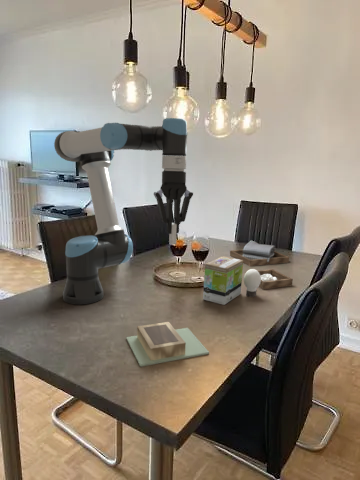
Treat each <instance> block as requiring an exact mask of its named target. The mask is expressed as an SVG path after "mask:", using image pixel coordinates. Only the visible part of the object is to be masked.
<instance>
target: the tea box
mask: <svg viewBox="0 0 360 480" xmlns="http://www.w3.org/2000/svg"><path fill="white" fill-rule="evenodd" d="M243 270H244V263H243V260H240V259H235V258H233V257H228V256H222V255H221V256H220V257H217V258H215V259H213V260H210V261H209V262H207V263H205V264H204V278H203V292H202V299H203V300H204V301H207V302H212V303H214V304H219V305H223V306H224V305H226V304H228V303H229V302H231V301H232V300H234V299H235V298H236V297H238V296H240V295H241V294H242V280H243Z"/></svg>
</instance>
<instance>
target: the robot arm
mask: <svg viewBox="0 0 360 480" xmlns="http://www.w3.org/2000/svg"><path fill="white" fill-rule="evenodd" d="M161 125H162V126H161ZM161 125H160V126H159V125H157V126H154V125H153V126H152V125H141V124H140V125H138V124H127V123H121V122H120V123H119V122H106V123H104V124H103V126H102V127H97V128H92V129H87V130H81V131H76V130H66V131H63V132H60V133H59V134H57V135H56V136H55V139H54V143H53V144H54V145H53V146H54V151H55V152H56V154H57V155H58V156H59V157H60V158H61V159H63V160H65V161H68V162H73V163H80V165H81V168H82V170H84V171H85V172H86V176H87V181H88V187H89V191H90V196H91V200H92V201H91V202H92V206H93V211H94V217H95V221H96V227H97V231H96V232H95V234H94V235H92V234H91V235H80V236H79V235H78V236H75V237H73V238H70V239H69V240H67V242H66V244H65V252H64V254H65V265H66V266H65V267H66V282H65V286H64V288H63V292H62V300H63V301H64V303H68V304H71V305H89V304H94V303H97V302H99V301H101V300H102V299H103V298H104V289H103V287H102V283H101V281H100V278H99V269H102V268H103V269H104V268H108V267H111V266H119V265H121V264H125V263H127V262H129V260H130V259H131V257H132V256H133V251H134V243H133V241H132V238H131V237H130V235H128V234H126V233H125V230H124V228H123V227H121V226H120V224H119V223H120V222H119V219H118V213H117V209H116V203H115V198H114V193H113V186H112V183H111V178H110V173H109V167H110V166H111V165H112V164H111V161H113V158H114V156H115V155H114V153H115V151H121V150H134V151H135V150H139V151H140V150H141V151H149V152H150V151H151V152H152V151H161V152H162V154H161V155H162V159H161V160H162V161H161V162H162V164H161V168H162V169H163V170H162V171H161V185H160V189H159V190H157V191H154V192H153V197H154V198H155V199H156V202H157V207H158V213H159V216H160V217H159V218H160V221H161V222H163V223H166V233H167V234H168V237H169V238H168V243H170V245H177V234H179V233H180V224H182V223H183V222H185V220H186V217H187V214H188V209H189V207H190V206H189V205H190V202H191V199H192V197H193V196H194V192H191V191H189V189H188V188H187V185H186V183H187V179H186V178H187V172H186V171H185V170H186V169H187V146H188V145H187V144H188V141H187V140H188V123H187V120H186V119H184V118H179V117H175V118H174V117H165V118H163V121H162V124H161ZM183 196H184V197H183ZM163 197H165V199H166V210H165V205H164V201H163V200H164V199H163ZM182 197H183V201H182ZM181 202H182V205H181Z"/></svg>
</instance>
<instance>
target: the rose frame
mask: <svg viewBox="0 0 360 480" xmlns="http://www.w3.org/2000/svg"><path fill="white" fill-rule="evenodd" d="M257 271H258V272H259V274H260V276H261V275H263V274H270V275H272V277H276V278H277V280H273V281H262V280H261V283H260V285H259V287H258V288H260V289H262V290H265V289H266V290H267V289H277V288H282V287H283V288H284V287H292V286H293V278H291V277H289V276H287V275H286V274H283V273H281V272H279V271H277V270H275V269H272V268H270V269H260V270H257ZM246 272H247V271H245V272H244V274H245V273H246Z"/></svg>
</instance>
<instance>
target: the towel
mask: <svg viewBox="0 0 360 480" xmlns="http://www.w3.org/2000/svg"><path fill="white" fill-rule="evenodd" d="M275 248H276V246H275V245H271V244H262V243H261V244H260V243H258V242H256V241H253V240H252V239H251V240H250V241H249V242H247V243H246V244H245V245H244V246H243V249H242V250H243V255H242V256H244V257H246V258H248V259H250V260H255V259H267V262H269V259H270V258H273V255H274V251H276V249H275Z"/></svg>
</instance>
